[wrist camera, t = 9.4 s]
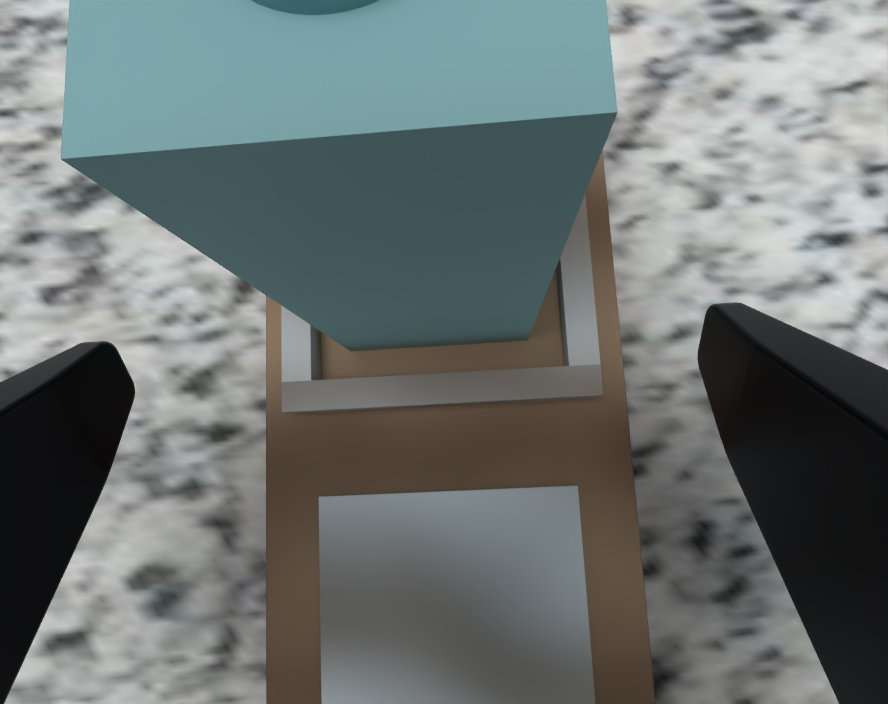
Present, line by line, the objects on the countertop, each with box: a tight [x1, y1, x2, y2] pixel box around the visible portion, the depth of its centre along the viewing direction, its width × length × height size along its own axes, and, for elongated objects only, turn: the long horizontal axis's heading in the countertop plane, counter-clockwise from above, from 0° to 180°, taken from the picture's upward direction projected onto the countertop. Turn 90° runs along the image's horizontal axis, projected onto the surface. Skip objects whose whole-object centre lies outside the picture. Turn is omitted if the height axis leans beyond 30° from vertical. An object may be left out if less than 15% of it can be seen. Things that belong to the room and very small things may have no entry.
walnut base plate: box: [266, 151, 655, 704], centre depth 17 cm, size 21×10×4 cm, turn 3°
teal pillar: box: [61, 0, 617, 351], centre depth 11 cm, size 5×5×12 cm
